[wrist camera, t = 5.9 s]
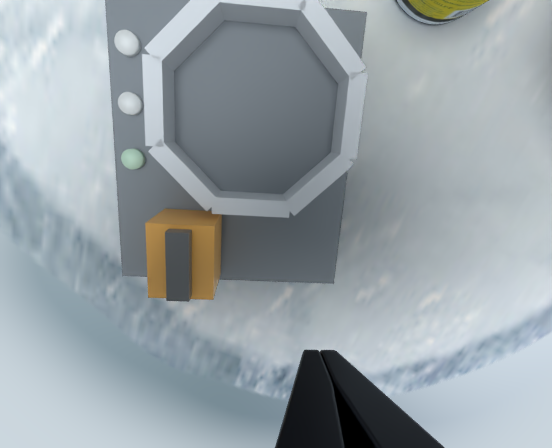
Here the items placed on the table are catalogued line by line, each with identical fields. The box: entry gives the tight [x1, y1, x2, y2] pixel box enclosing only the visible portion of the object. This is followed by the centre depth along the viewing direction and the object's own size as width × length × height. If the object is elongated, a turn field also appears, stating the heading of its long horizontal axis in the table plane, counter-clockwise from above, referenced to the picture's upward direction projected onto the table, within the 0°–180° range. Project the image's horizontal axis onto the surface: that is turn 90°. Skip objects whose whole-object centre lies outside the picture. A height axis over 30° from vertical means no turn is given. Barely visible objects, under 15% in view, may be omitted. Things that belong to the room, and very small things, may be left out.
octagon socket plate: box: [105, 0, 368, 284], centre depth 16 cm, size 12×14×4 cm
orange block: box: [145, 209, 222, 301], centre depth 16 cm, size 3×4×4 cm
